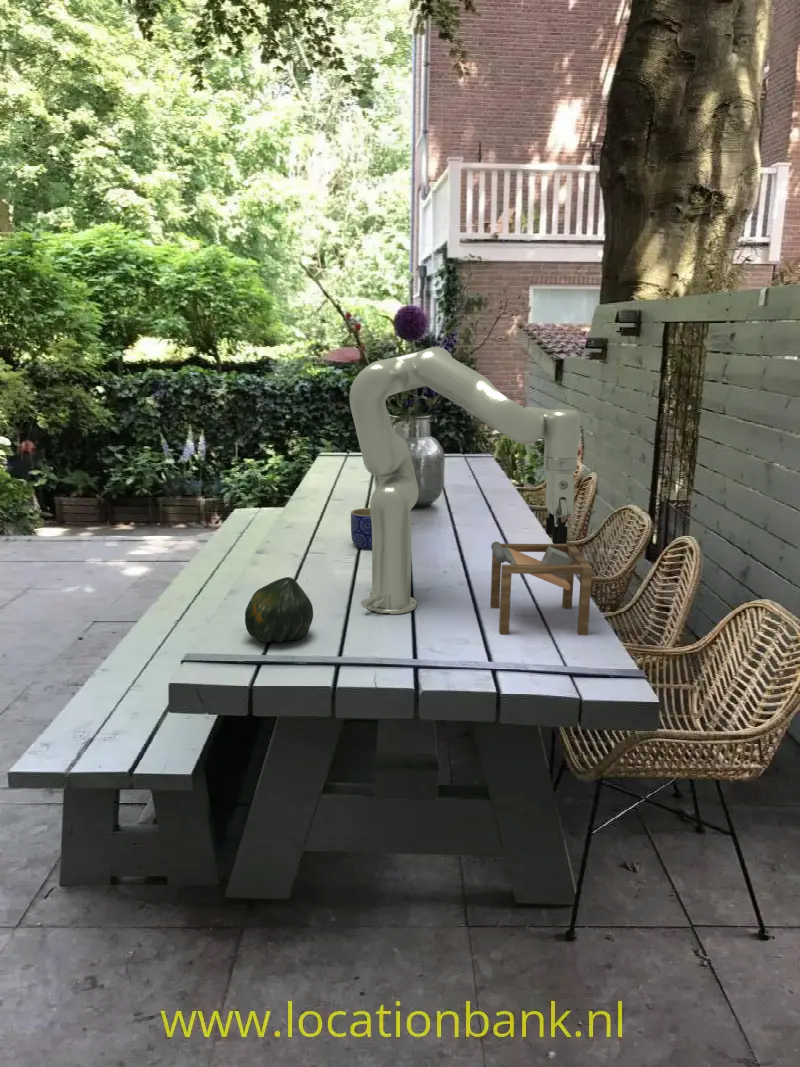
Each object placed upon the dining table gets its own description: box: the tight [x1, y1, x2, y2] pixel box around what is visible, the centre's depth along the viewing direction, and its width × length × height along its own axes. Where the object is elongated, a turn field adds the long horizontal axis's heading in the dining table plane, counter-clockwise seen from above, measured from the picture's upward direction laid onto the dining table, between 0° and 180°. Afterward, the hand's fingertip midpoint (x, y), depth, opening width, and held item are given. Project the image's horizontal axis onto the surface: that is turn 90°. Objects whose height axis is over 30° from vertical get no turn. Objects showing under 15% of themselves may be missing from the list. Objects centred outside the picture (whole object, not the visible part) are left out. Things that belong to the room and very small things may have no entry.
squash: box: [244, 576, 314, 643], centre depth 192 cm, size 14×15×15 cm
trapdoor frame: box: [490, 543, 593, 636], centre depth 205 cm, size 20×20×16 cm
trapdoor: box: [490, 541, 571, 590], centre depth 203 cm, size 14×18×2 cm
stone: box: [540, 546, 572, 579], centre depth 203 cm, size 5×5×5 cm
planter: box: [350, 507, 372, 550], centre depth 267 cm, size 11×11×11 cm
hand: (556, 538), depth 202 cm, fingers open, 7 cm apart
